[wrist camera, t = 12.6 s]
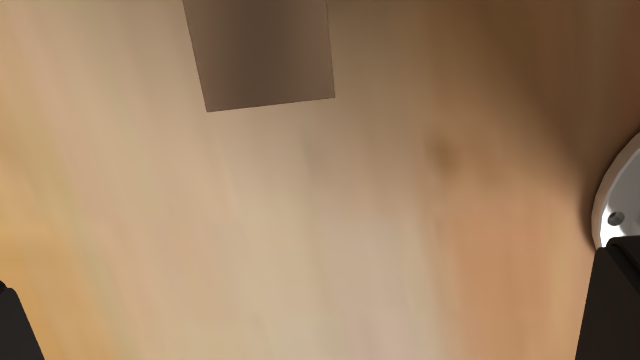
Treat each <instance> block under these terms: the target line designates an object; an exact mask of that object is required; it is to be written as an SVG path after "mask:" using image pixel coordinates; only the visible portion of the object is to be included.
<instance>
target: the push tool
mask: <svg viewBox="0 0 640 360" xmlns="http://www.w3.org/2000/svg"><path fill="white" fill-rule="evenodd" d="M182 1H183V5H184V10H185V14H186V19H187V24H188V28H189V33H190V37H191V42H192V47H193V51H194V56H195V60H196V65H197V70H198V74H199V79H200V83H201V88H202V92H203V97H204V102H205V106H206V111H207V112H215V111H223V110H232V109H241V108H250V107H258V106H267V105H276V104H285V103H293V102H302V101H311V100H319V99H328V98H335V90H334V80H333V70H332V59H331V49H330V39H329V28H328V18H327V7H326V0H182Z"/></svg>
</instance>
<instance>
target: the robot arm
mask: <svg viewBox="0 0 640 360" xmlns="http://www.w3.org/2000/svg"><path fill="white" fill-rule="evenodd" d="M591 224H592V237H593V240H594V244H595V247H596V253H595V256H594V262H593V267H592V272H591V277H590V283H589V288H588V293H587V299H586V304H585V309H584V314H583V320H582V325H581V330H580V335H579V341H578V346H577V351H576V356H575V360H640V132H639V133H638V134H636V135H635V136H634V137H633V138H632V140H631V141H630V142H629V143H628V144H627V145H626V146H625V147H624V149H623V150H622V151H621V152H620V153H619V154H618V155H617V157H616V158H615V160H614V161H613V163H612V164H611V166H610V168H609V169H608V171H607V172H606V174H605V175H604V177H603V180H602V182H601V184H600V187H599V189H598V191H597V194H596V196H595V201H594V205H593V210H592V215H591ZM0 360H45V359H44V357H43V354H42V352H41V349H40V347H39V345H38V342H37V340H36V338H35V335H34V333H33V331H32V328H31V326H30V323H29V321H28V319H27V316H26V314H25V312H24V309H23V307H22V305H21V302H20V300H19V297H18V295H17V293H16V292H15V290H13V289H12V288H7V287H6V285H5V284H4V283H3V282H2V281H0Z"/></svg>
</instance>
